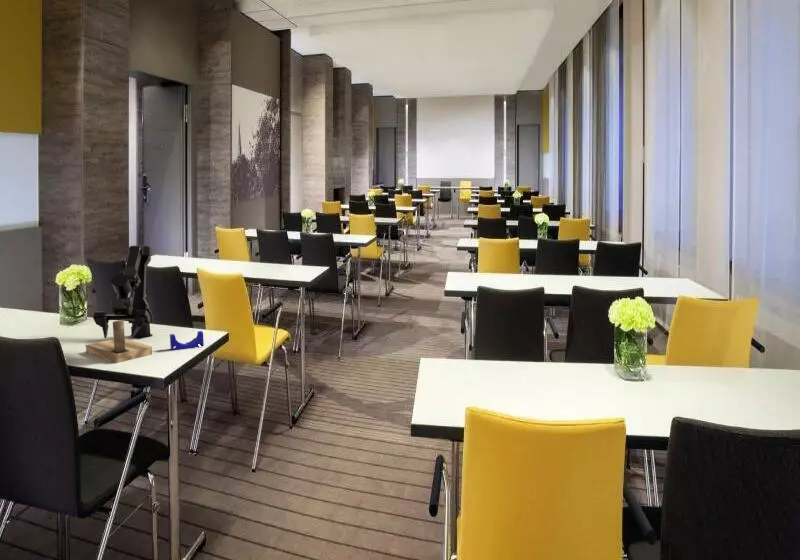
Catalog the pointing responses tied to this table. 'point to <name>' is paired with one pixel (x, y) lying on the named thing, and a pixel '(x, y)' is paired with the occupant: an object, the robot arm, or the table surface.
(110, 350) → the stool seat
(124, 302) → the robot arm
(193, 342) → the blue cradle bracket
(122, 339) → the stool leg
